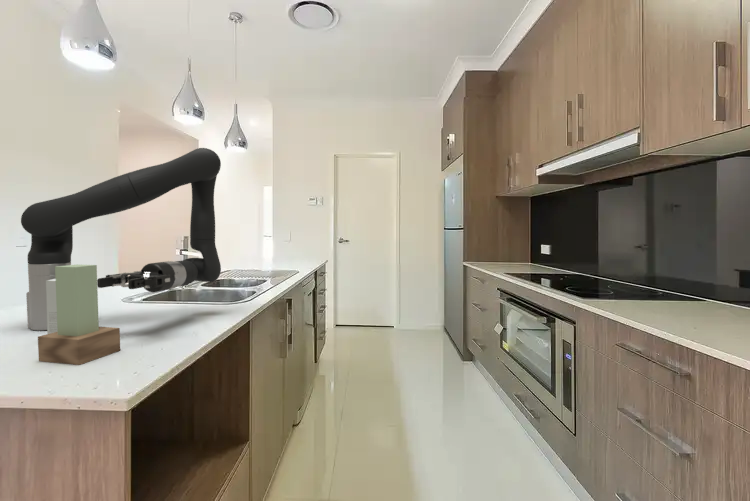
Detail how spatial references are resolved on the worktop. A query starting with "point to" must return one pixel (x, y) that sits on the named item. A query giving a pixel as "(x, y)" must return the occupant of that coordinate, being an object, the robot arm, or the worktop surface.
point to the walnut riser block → (78, 346)
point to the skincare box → (51, 306)
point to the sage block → (76, 299)
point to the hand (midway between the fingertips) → (114, 283)
